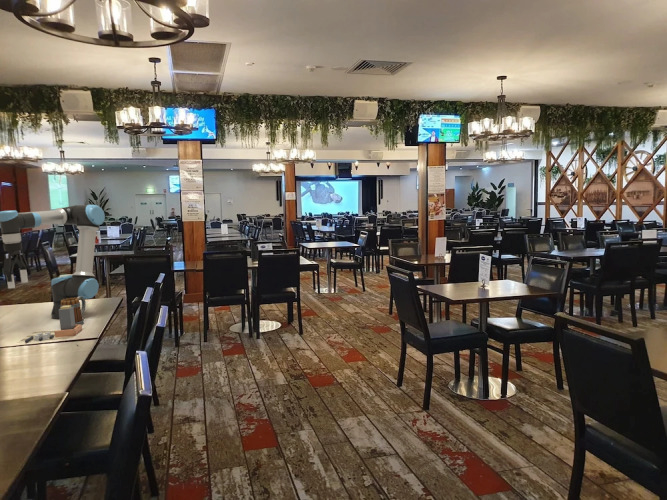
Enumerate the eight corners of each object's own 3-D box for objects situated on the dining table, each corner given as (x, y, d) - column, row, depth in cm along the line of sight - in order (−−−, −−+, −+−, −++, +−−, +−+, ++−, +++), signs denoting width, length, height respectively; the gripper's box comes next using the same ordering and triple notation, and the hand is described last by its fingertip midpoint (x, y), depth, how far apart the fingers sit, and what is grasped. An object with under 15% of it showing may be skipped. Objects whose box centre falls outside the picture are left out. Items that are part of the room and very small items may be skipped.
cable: (31, 338, 233) (31, 335, 232) (55, 336, 234) (55, 333, 234) (24, 343, 225) (24, 340, 225) (49, 341, 227) (48, 338, 227)
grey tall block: (65, 331, 241) (62, 305, 239) (75, 330, 241) (73, 304, 240) (61, 333, 236) (58, 307, 234) (72, 333, 237) (69, 307, 235)
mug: (74, 330, 249) (71, 301, 247) (56, 329, 251) (53, 301, 250) (94, 322, 264) (92, 295, 263) (78, 321, 267) (75, 295, 265)
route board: (34, 334, 245) (34, 331, 244) (85, 330, 248) (84, 327, 248) (17, 345, 227) (17, 342, 227) (72, 340, 231) (72, 338, 231)
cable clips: (38, 338, 233) (38, 333, 232) (51, 337, 233) (50, 332, 233) (34, 340, 228) (34, 335, 228) (47, 339, 229) (46, 334, 229)
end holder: (63, 331, 243) (62, 325, 243) (82, 330, 244) (81, 324, 244) (55, 337, 233) (54, 331, 233) (75, 335, 235) (74, 329, 234)
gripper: (16, 240, 247) (22, 280, 250) (-10, 246, 222) (-4, 291, 225) (32, 239, 248) (37, 279, 251) (7, 245, 223) (14, 290, 226)
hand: (18, 285), depth 238 cm, fingers open, 13 cm apart
